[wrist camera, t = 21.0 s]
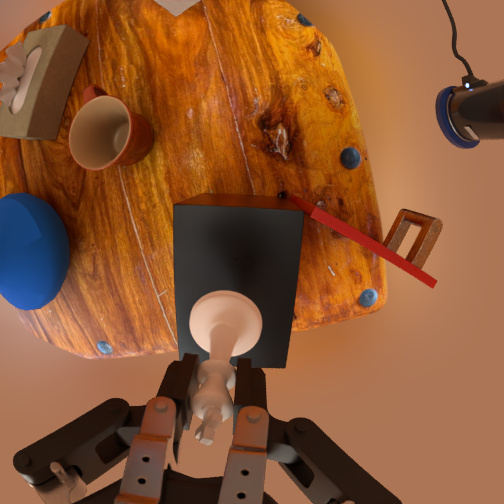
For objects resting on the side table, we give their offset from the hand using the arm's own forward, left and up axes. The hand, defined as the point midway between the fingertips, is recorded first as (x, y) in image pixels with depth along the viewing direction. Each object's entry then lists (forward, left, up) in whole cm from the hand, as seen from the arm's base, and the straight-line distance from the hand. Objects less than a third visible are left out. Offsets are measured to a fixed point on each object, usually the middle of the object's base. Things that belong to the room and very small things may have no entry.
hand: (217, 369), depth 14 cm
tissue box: (-26, -34, -27) cm, 50 cm away
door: (-7, +15, -26) cm, 31 cm away
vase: (+1, -34, -27) cm, 43 cm away
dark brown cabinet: (+1, 0, -26) cm, 26 cm away
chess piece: (0, 0, -5) cm, 5 cm away
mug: (-16, -17, -27) cm, 35 cm away
